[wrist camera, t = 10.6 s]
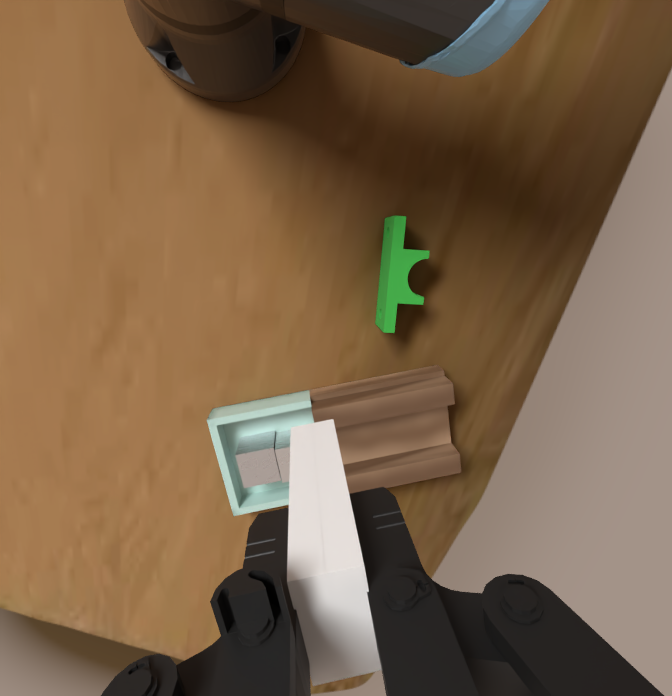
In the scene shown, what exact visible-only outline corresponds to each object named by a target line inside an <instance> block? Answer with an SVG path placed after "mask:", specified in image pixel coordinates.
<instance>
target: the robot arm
mask: <svg viewBox="0 0 672 696" xmlns="http://www.w3.org/2000/svg"><path fill="white" fill-rule="evenodd" d="M548 1H549V0H124V3H125V6H126V10H127V13H128V15H129V18H130V21H131V23H132V25H133V28H134V30H135V32H136V34H137V36H138V38H139V39H140V41H141V43H142V44H143V46H144V47H145V49H146V50H147V52H148V53H149V54H150V55H151V57H152V58H153V59H154V61H155V62H156V63H157V64H158V66H159V67H160V68H161V69H162V70H163V71H164V72H165V73H166V74H167V75H168V76H169V77H170V78H171V79H172V80H173V81H175V82H176V83H177V84H179V85H180V86H181V87H183V88H184V89H186V90H188V91H190V92H192V93H194V94H196V95H198V96H201V97H203V98H207V99H210V100H215V101H223V102H235V101H242V100H247V99H251V98H254V97H256V96H259V95H261V94H263V93H264V92H266V91H268V90H269V89H271V88H272V87H274V86H275V85H276V84H277V83H278V82H279V81H280V80H281V79H282V78H283V77H284V76H285V75H286V74H287V72H288V71H289V70H290V68H291V67H292V65H293V63H294V62H295V60H296V58H297V56H298V53H299V51H300V48H301V45H302V42H303V39H304V34H305V29H306V27H307V28H310V29H313V30H316V31H319V32H321V33H324V34H327V35H330V36H333V37H336V38H339V39H341V40H344V41H347V42H350V43H353V44H356V45H359V46H362V47H364V48H367V49H370V50H373V51H376V52H379V53H382V54H384V55H387V56H390V57H393V58H396V59H399V60H400V63H401V64H402V65H404V66H405V67H408V68H411V69H415V68H417V69H422V68H425V69H428V70H432V71H435V72H439V73H442V74H445V75H449V76H453V77H462V76H465V75H471V74H473V73H478V72H480V71H482V70H483V69H485V68H487V67H488V66H490V65H491V64H493V63H494V62H495V61H497V60H498V59H499V58H500V57H501V56H502V55H504V54H505V53H506V52H507V51H508V50H509V49H510V48H511V47H512V46H513V45H514V44H515V43H516V42H517V40H518V39H519V38H520V37H521V36H522V35H523V34H524V32H525V31H526V30H527V29H528V28H529V26H530V25H531V24H532V23H533V21H534V20H535V19H536V18H537V16H538V15H539V14H540V12H541V11H542V10H543V8H544V7H545V6H546V4H547V3H548ZM210 602H211V606H212V609H213V612H214V615H215V618H216V621H217V624H218V627H219V630H220V634H221V637H220V638H219V639H218V640H217V641H216V642H215V643H213V644H212V645H211V646H209V647H208V648H206V649H205V650H203V651H202V652H200V653H198V654H196V655H194V656H193V657H191V658H189V659H187V660H185V661H183V662H181V663H180V664H178V665H176V664H175V663H174V662H173V661H172V659H171V658H170V657H168V656H165V655H161V654H156V655H150V656H145V657H143V658H141V659H139V660H137V661H136V662H133V663H132V664H130V665H128V666H127V667H126V668H125V669H124V670H123V671H121V672H120V673H119V674H118V675H117V676H115V678H114V679H113V680H112V682H111V683H110V684H109V685H108V687H107V688H106V689H105V690H104V692H103V693H102V695H101V696H311V693H310V676H311V680H312V684H313V686H315V685H319V684H324V683H328V682H332V681H337V680H341V679H345V678H350V677H354V676H358V675H363V674H367V673H372V672H376V671H380V670H382V674H383V679H384V684H385V690H386V695H387V696H664V695H663V694H662V693H661V692H660V691H658V690H657V689H656V688H655V687H654V686H653V685H652V684H651V683H650V682H649V681H648V680H647V679H646V678H644V677H643V676H642V675H641V674H640V673H639V672H638V671H637V670H636V669H635V668H634V667H633V666H631V664H629V663H628V662H627V661H626V660H625V659H624V658H623V657H622V656H621V655H620V654H619V653H618V652H617V651H615V650H614V649H613V648H612V647H611V646H610V645H609V644H608V643H607V642H606V641H605V640H604V639H602V637H600V636H599V635H598V634H597V633H596V632H595V631H594V630H593V629H592V628H591V627H590V626H589V625H588V624H587V623H585V622H584V621H583V620H582V619H581V618H580V617H579V616H578V615H577V614H576V613H575V612H574V611H572V609H571V608H569V607H568V606H567V605H566V604H565V603H564V602H563V601H562V600H561V599H560V598H559V597H557V595H555V594H554V593H553V592H552V591H551V590H550V589H549V588H547V587H546V586H544V585H543V584H542V583H540V582H539V581H537V580H535V579H532V578H529V577H526V576H524V575H515V574H506V575H503V576H499V577H495V578H494V579H493V580H491V581H490V582H489V583H488V584H486V586H485V588H484V591H483V593H482V594H481V593H469V592H459V591H454V590H450V589H448V588H445V587H442V586H440V585H439V584H437V583H436V582H434V581H433V580H432V579H431V578H430V577H429V576H428V575H427V574H426V572H425V570H424V569H423V567H422V565H421V562H420V559H419V557H418V554H417V552H416V549H415V546H414V544H413V541H412V539H411V536H410V534H409V531H408V528H407V526H406V524H405V521H404V518H403V516H402V513H401V511H400V508H399V505H398V503H397V500H396V497H395V496H394V495H393V494H392V493H390V492H389V491H388V490H387V489H386V488H384V487H379V488H374V489H370V490H365V491H360V492H355V493H350V494H349V491H348V486H347V482H346V477H345V472H344V467H343V463H342V458H341V453H340V448H339V444H338V439H337V434H336V429H335V425H334V420H333V419H331V420H326V421H321V422H316V423H310V424H305V425H300V426H295V427H291V436H290V477H289V508H285V509H280V510H275V511H270V512H265V513H261V514H258V516H257V517H256V519H255V520H254V522H253V523H252V525H251V526H250V528H249V532H248V538H247V547H246V551H245V560H244V563H243V569H240V570H237V571H236V572H234V573H233V574H231V575H230V576H228V577H227V578H225V579H224V580H223V582H222V583H221V584H220V585H219V586H218V587H217V589H216V590H215V592H214V594H213V597H212V599H211V601H210Z"/></svg>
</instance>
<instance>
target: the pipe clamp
mask: <svg viewBox="0 0 672 696" xmlns="http://www.w3.org/2000/svg"><path fill="white" fill-rule="evenodd" d="M405 225H406V216H391V217H387V218H385V223H384V234H383V245H382V256H381V267H380V278H379V289H378V300H377V311H376V322H375V324H376V325H377V326H378V327H379V328H380V329H381V330H382V331H383V332H385V333H394V332H395V323H396V313H397V303H399V304H419V305H423V302H424V297H422V296H420V295H418V294H416V293H413V292H412V291H411V289H410V288H409V285H408V273H409V271H410V269H411V267H412V266H413V265H414V264H415V263H416V262H418V261H420V260H422V259H429V251H425V250H412V249H403V245H404V235H405Z"/></svg>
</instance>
